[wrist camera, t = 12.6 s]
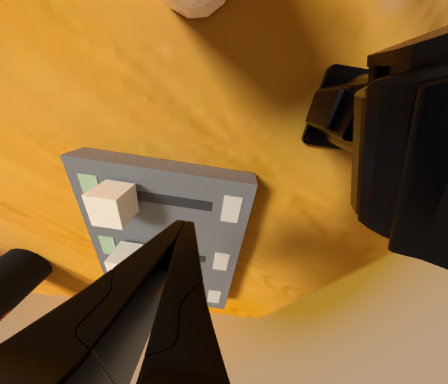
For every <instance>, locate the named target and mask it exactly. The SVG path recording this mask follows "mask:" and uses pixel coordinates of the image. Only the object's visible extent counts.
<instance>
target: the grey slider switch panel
mask: <svg viewBox="0 0 448 384" xmlns="http://www.w3.org/2000/svg"><path fill="white" fill-rule="evenodd" d="M60 157H61V159H62V162H63V165H64V167H65V170H66V173H67V175H68V178H69V181H70V183H71V186H72V189H73V192H74V194H75V197H76V200H77V202H78V205H79V208H80V210H81V213H82V216H83V218H84V221H85V224H86V227H87V229H88V232H89V235H90V237H91V240H92V243H93V245H94V248H95V251H96V253H97V256H98V259H99V262H100V264H101V267H102V270H103V272H104V274H105V273H107V270H106V267H105V264H104V261H105V260H106V259H107V258H108V256H109V255H110V254H111V253H112V251H113V250H114V249H115V248H116V246H117V245H118V244H119V243H120V241H125V242H132V243H139V244H145V243H147V242H148V241H149V240H151V239H152V238H153V237H155V236H156V235H157V234H159V233H160V232H161V231H163V230H164V229H165V228H167V227H168V226H169V225H170V224H172V223H173V222H174V221H176V220H184V221H185V222H186V221H191V222H194V224H195V230H196V237H197V243H198V250H199V256H200V262H201V269H202V275H203V283H204V288H205V294H206V299H207V304H208V307H214V308H221V309H224V308H225V304H226V300H227V297H228V293H229V289H230V286H231V282H232V278H233V275H234V271H235V267H236V264H237V260H238V256H239V253H240V249H241V245H242V242H243V238H244V234H245V231H246V227H247V223H248V220H249V216H250V212H251V208H252V205H253V201H254V197H255V194H256V190H257V186H258V183H257V180H256V176H255V173H250V172H244V171H237V170H230V169H224V168H217V167H211V166H204V165H198V164H191V163H184V162H178V161H171V160H165V159H158V158H152V157H145V156H138V155H132V154H125V153H119V152H112V151H106V150H99V149H92V148H86V147H83V148H80V149H77V150H74V151H71V152H68V153H65V154H62V155H60ZM106 179H108V180H115V181H121V182H128V183H135V185H136V192H137V199H138V205H139V212H138V213H137V214H136V215H135V216H134V217H133V219H132V220H131V221H130V222H129V223H128V224H127V226H126V227H125V228H124V229H123V230H118V229H111V228H104V227H98V226H92V225H91V222H90V219H89V216H88V213H87V210H86V208H85V205H84V202H83V199H82V196H81V195H82V194H84V193H85V192H87V191H88V190H90V189H92V188H93V187H95V186H96V185H98V184H100V183H101V182H103V181H104V180H106Z"/></svg>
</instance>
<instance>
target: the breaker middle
mask: <svg viewBox="0 0 448 384" xmlns="http://www.w3.org/2000/svg"><path fill="white" fill-rule="evenodd" d="M143 245H144V244H139V243H132V242H125V241H120V243H119V244H118V245H117V246H116V248H115V249H114V250H113V251H112V253H111V254H110V255H109V256H108V258H107V259H106V260H105V261H104V264H105V267H106V270H107V272H108V271H109V270H112V269H113V267H115V266H116V265H117V264H119V263H120V262H121V261H123V260H124V259H125V258H127V257H128V256H129V255H131V254H132V253H133V252H135V251H136V250H137V249H139V248H140V247H141V246H143Z"/></svg>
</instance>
